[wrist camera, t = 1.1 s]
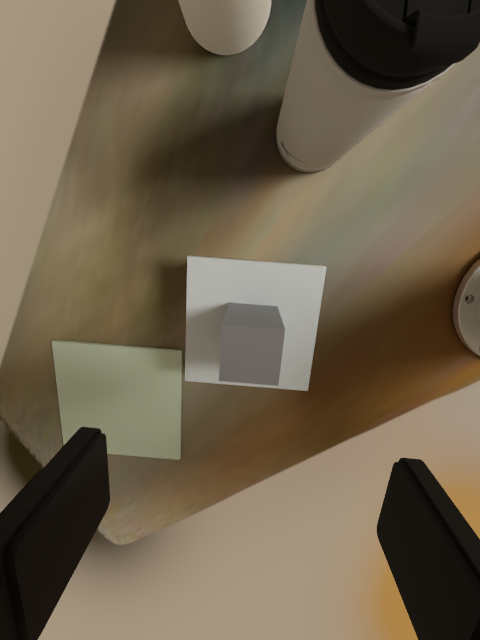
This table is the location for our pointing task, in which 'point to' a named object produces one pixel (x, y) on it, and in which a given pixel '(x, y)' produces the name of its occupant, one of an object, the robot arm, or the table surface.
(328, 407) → the table surface
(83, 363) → the mat
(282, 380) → the lid
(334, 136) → the travel mug
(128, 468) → the table surface
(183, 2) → the cylindrical container
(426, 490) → the robot arm
